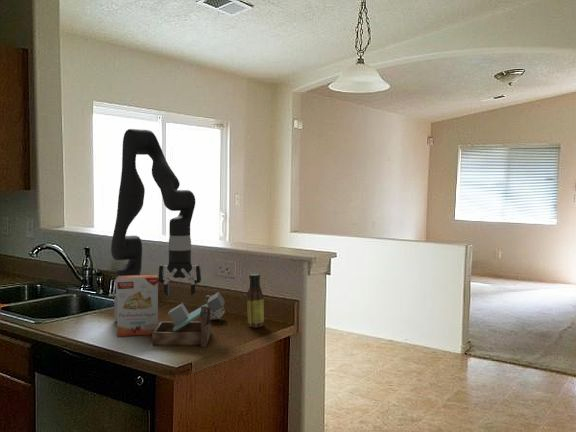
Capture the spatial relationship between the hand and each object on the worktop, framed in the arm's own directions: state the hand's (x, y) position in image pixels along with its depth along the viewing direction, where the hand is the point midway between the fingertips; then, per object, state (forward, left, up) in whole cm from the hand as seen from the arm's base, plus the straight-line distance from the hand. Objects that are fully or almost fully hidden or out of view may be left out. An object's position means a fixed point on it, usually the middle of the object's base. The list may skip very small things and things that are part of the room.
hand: (179, 294), depth 181 cm
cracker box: (-16, +7, -16) cm, 24 cm away
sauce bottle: (+26, +17, -16) cm, 35 cm away
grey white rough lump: (+10, +26, -16) cm, 32 cm away
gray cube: (+1, 0, -9) cm, 9 cm away
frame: (+1, 0, -16) cm, 16 cm away
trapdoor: (+7, 0, -8) cm, 11 cm away
